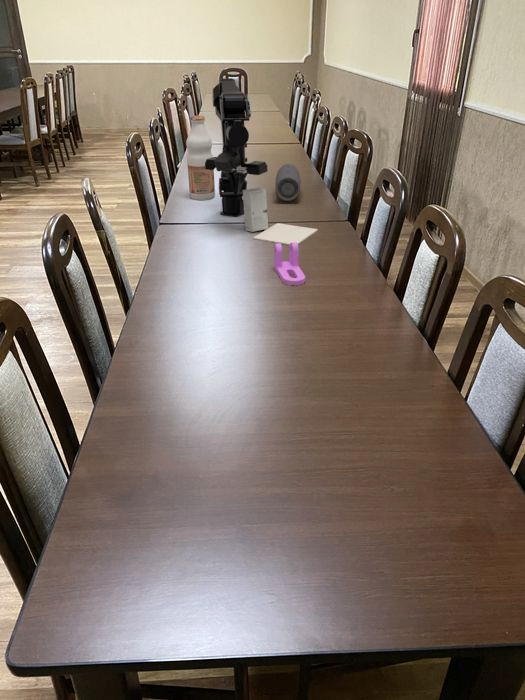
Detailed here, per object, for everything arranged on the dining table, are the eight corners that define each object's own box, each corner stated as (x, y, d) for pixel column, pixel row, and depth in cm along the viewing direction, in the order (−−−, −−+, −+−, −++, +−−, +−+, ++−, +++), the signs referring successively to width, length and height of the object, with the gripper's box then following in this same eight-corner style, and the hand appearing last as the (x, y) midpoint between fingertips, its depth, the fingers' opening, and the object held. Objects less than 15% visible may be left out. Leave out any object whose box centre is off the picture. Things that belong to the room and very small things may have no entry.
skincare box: (252, 232, 163) (249, 191, 158) (244, 230, 167) (241, 189, 161) (269, 228, 166) (266, 188, 161) (261, 226, 169) (258, 187, 164)
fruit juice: (184, 197, 201) (178, 116, 187) (204, 192, 206) (199, 113, 192) (200, 202, 195) (195, 118, 181) (220, 197, 200) (216, 116, 186)
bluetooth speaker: (301, 204, 191) (301, 175, 186) (274, 204, 192) (274, 175, 186) (299, 188, 211) (300, 162, 206) (276, 188, 211) (276, 162, 206)
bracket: (273, 267, 140) (273, 241, 136) (294, 265, 141) (295, 240, 137) (285, 287, 129) (285, 259, 125) (307, 285, 130) (308, 258, 126)
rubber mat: (252, 238, 159) (252, 237, 159) (277, 224, 171) (277, 223, 171) (295, 246, 153) (295, 244, 153) (317, 230, 165) (317, 229, 165)
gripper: (192, 142, 154) (196, 197, 162) (249, 147, 146) (250, 205, 154) (213, 136, 162) (216, 189, 170) (268, 141, 155) (268, 196, 163)
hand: (236, 194), depth 164 cm, fingers closed
